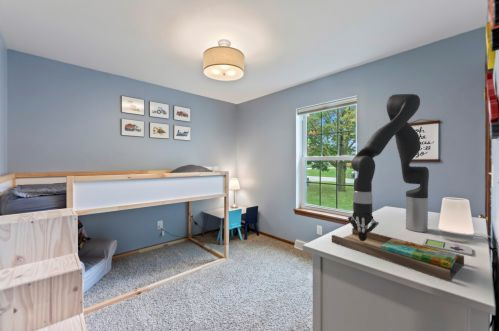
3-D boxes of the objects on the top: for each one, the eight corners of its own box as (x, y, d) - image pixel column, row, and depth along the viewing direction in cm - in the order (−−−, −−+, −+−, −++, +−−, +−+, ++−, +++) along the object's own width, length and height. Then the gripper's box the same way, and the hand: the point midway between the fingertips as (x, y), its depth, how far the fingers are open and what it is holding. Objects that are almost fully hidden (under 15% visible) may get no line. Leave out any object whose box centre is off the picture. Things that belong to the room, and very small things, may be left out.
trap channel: (353, 233, 109) (353, 227, 109) (464, 264, 77) (464, 255, 76) (331, 242, 98) (331, 235, 98) (449, 281, 66) (449, 271, 66)
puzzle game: (391, 236, 91) (457, 251, 75) (391, 247, 91) (457, 265, 75) (380, 243, 83) (451, 261, 68) (380, 255, 84) (451, 276, 68)
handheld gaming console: (472, 253, 83) (422, 243, 93) (472, 257, 83) (422, 246, 93) (471, 246, 90) (425, 237, 100) (471, 249, 90) (425, 240, 100)
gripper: (382, 202, 93) (382, 243, 93) (352, 198, 103) (352, 234, 104) (374, 204, 88) (374, 247, 89) (343, 200, 99) (343, 238, 99)
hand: (362, 240), depth 96 cm, fingers closed
